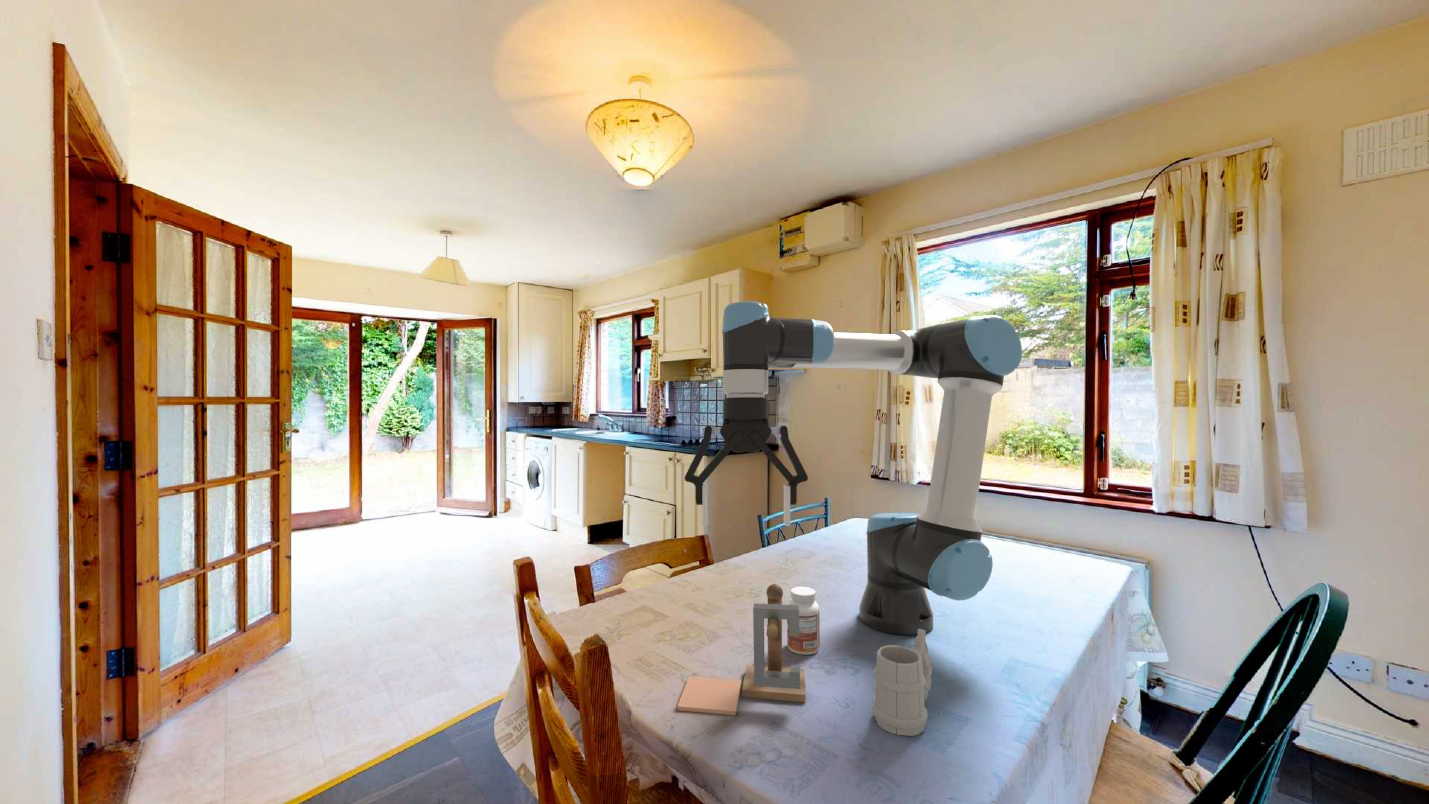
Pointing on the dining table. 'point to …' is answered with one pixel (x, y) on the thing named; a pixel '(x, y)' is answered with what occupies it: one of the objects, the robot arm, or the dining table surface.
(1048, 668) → the dining table surface
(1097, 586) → the dining table surface
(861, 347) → the robot arm
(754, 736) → the dining table surface
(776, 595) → the hook stand
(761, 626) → the c link
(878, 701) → the mug
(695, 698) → the tile
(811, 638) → the pill bottle
